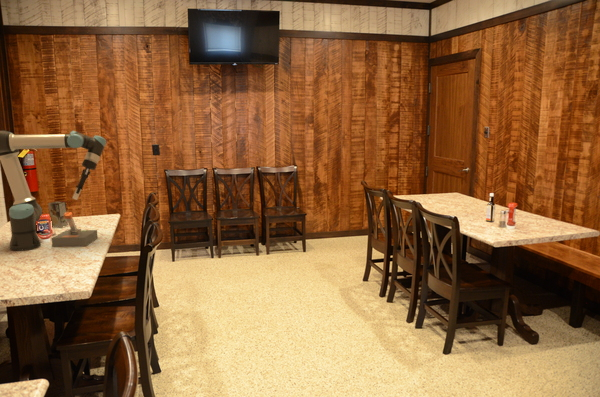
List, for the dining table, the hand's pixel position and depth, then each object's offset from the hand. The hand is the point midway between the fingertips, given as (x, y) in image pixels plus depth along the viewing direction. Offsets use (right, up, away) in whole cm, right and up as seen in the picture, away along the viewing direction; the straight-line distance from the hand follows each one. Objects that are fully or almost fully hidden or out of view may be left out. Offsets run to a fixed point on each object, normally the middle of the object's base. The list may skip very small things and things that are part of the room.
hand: (74, 199), depth 268 cm
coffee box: (-32, -18, +46) cm, 59 cm away
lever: (-1, -19, +4) cm, 20 cm away
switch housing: (-1, -25, +4) cm, 25 cm away
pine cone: (-40, -21, +29) cm, 54 cm away
